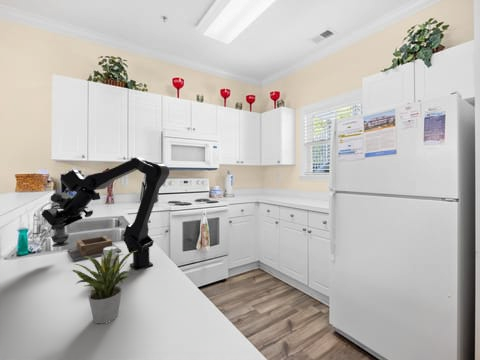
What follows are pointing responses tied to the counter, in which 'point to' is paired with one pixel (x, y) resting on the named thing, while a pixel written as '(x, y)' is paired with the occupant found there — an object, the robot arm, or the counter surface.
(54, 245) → the grey stone pawn figure
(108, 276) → the house plant
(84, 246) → the end holder
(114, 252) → the supplement bottle
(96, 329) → the counter surface
